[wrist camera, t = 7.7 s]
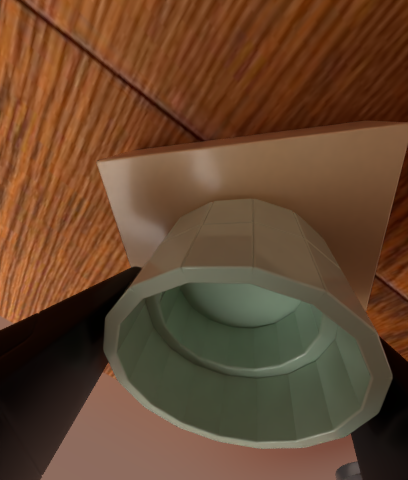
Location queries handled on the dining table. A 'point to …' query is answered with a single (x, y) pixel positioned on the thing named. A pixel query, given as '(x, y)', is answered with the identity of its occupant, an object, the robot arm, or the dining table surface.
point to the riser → (269, 186)
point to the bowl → (248, 332)
